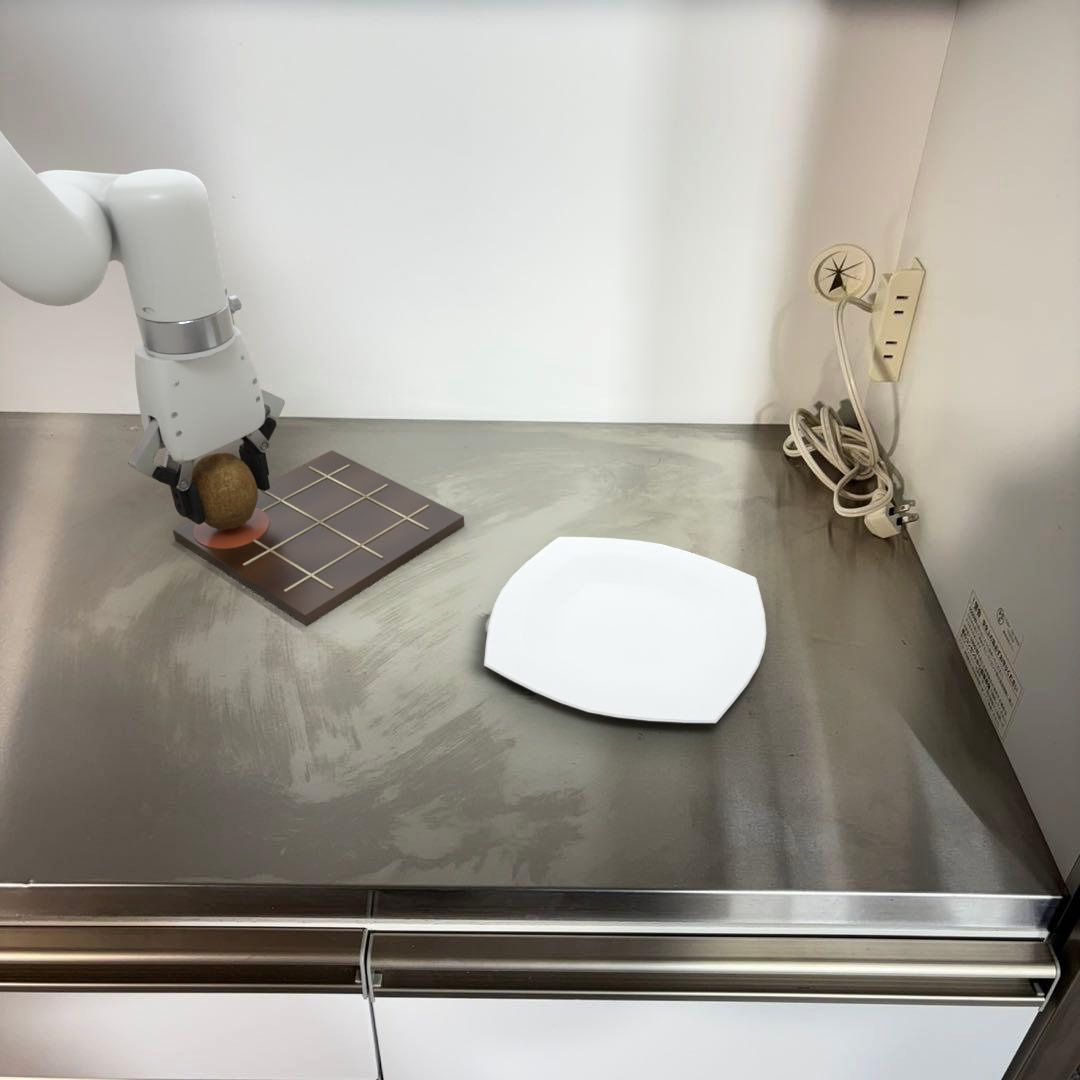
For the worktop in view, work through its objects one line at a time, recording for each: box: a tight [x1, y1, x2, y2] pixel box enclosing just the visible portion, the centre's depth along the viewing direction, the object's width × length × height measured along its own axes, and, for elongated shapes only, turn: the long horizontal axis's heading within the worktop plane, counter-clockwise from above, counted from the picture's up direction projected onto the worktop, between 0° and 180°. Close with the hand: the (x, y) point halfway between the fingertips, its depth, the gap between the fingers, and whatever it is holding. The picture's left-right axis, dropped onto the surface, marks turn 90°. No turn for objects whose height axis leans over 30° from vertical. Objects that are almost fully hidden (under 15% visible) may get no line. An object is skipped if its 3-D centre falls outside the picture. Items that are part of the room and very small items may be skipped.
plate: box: [483, 536, 767, 725], centre depth 83 cm, size 23×23×2 cm
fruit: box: [191, 452, 258, 530], centre depth 92 cm, size 6×6×8 cm
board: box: [172, 449, 465, 627], centre depth 95 cm, size 20×20×1 cm
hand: (225, 500), depth 93 cm, fingers open, 6 cm apart
